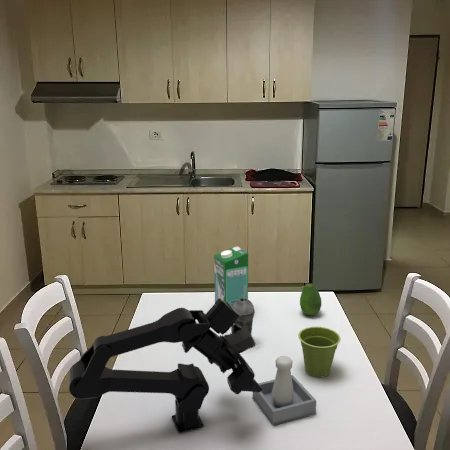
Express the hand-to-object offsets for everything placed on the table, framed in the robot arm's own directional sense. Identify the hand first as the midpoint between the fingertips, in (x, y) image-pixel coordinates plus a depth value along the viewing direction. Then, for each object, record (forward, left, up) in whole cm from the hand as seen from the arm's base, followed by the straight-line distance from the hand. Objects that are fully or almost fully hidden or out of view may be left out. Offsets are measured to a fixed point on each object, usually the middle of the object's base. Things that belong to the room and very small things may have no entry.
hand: (255, 379), depth 121 cm
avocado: (+42, -42, -9) cm, 60 cm away
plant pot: (+9, -24, -9) cm, 28 cm away
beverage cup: (+32, -11, -9) cm, 35 cm away
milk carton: (+52, -15, -9) cm, 55 cm away
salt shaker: (-1, -7, -8) cm, 11 cm away
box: (-1, -8, -9) cm, 12 cm away
